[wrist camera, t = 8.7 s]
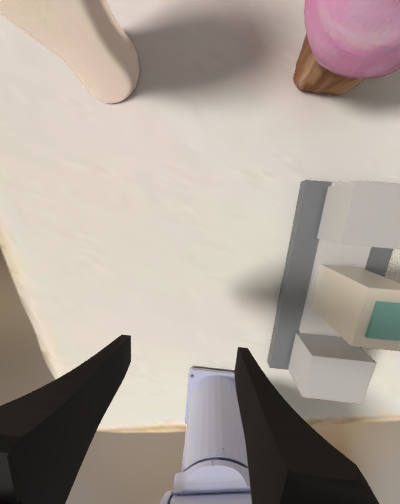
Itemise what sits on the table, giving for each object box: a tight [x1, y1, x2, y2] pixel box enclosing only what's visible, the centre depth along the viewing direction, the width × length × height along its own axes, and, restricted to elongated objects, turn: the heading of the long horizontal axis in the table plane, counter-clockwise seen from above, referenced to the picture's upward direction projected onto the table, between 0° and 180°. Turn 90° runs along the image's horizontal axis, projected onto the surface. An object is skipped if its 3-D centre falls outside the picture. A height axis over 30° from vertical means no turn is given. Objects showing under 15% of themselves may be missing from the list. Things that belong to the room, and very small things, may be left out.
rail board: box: [267, 180, 400, 404], centre depth 19 cm, size 22×10×5 cm, turn 176°
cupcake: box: [294, 0, 400, 95], centre depth 12 cm, size 9×9×10 cm
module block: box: [311, 264, 400, 351], centre depth 17 cm, size 5×4×6 cm
